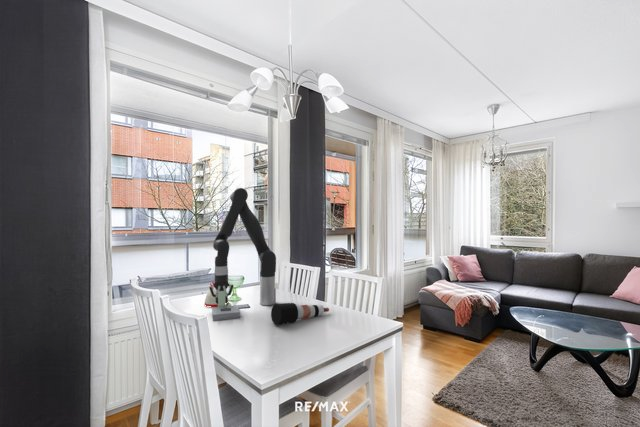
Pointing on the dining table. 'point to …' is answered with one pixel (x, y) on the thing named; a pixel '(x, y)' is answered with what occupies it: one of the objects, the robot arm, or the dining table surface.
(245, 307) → the panel
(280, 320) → the bottle
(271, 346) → the dining table surface
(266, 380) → the dining table surface
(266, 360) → the dining table surface
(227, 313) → the plate
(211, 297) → the kitchen timer
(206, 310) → the dining table surface
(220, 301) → the block
